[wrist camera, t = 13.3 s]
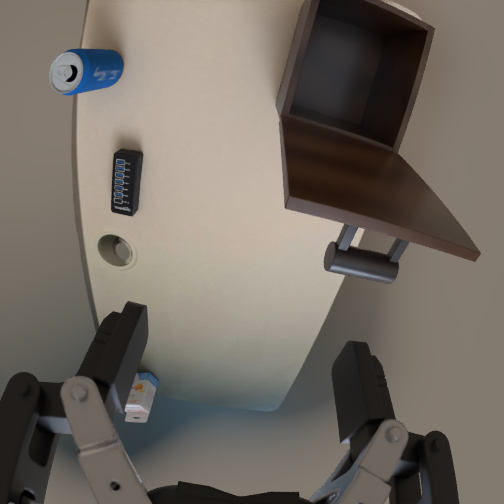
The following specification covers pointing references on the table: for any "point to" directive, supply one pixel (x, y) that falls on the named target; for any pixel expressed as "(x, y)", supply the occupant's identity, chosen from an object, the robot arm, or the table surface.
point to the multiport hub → (126, 181)
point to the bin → (355, 69)
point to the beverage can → (85, 70)
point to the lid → (364, 199)
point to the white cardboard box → (141, 397)
